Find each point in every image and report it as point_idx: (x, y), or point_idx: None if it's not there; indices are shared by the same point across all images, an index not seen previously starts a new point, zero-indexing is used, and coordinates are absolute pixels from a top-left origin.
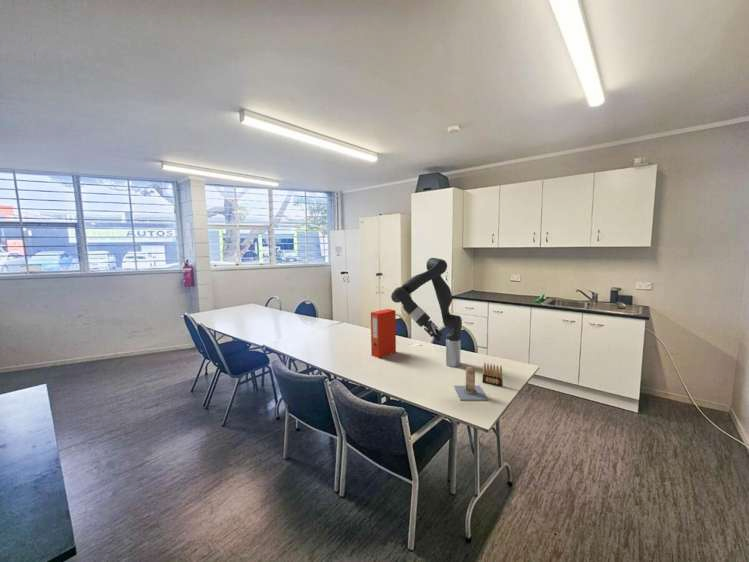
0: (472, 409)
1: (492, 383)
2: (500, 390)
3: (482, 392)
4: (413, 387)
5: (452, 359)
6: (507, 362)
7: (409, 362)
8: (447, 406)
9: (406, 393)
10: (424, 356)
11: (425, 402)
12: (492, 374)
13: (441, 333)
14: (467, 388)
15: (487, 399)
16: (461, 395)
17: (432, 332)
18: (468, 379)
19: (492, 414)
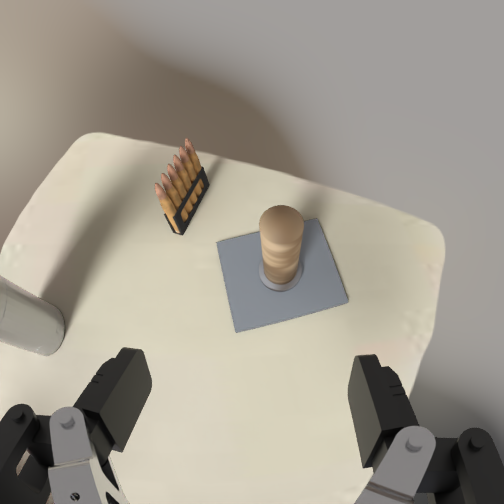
0: (389, 263)
1: (196, 204)
2: (234, 188)
3: None
4: (281, 485)
5: (46, 326)
6: (54, 178)
7: None
8: (399, 339)
9: (340, 495)
10: None
11: None
12: (184, 186)
13: (130, 363)
14: (294, 273)
15: (317, 220)
16: (316, 300)
17: (495, 465)
18: (299, 253)
19: (392, 214)
